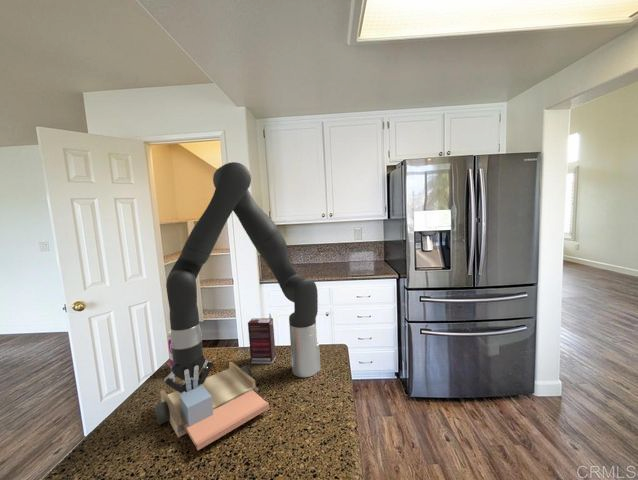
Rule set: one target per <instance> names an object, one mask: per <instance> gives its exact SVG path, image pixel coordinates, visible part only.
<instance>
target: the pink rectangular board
mask: <svg viewBox="0 0 638 480" xmlns="http://www.w3.org/2000/svg"><path fill="white" fill-rule="evenodd" d="M269 409H270V403H269V402H268V401H266V400H264V398H263V397H261V396H260V395H259V394H258V393H257V392H256V393H255V392H254V391H253V390H251V391H249V392H247V393H245V394H243V395H242V396H240V397H238V398H236V399H234V400H232V401H230V402H228V403H226V404H224V405H222V406H220V407H218V408H216V409H214V410H213V415H211V416H209V417H207V418H205V419H204V420H202V421H200V422H198V423H196V424H194V425H192V426H190V427H189V426H188V424H185V429H186V431H187V433H186V434H187V435H188V436H189V438H190V440H191V441H192V443H193V444H194V446H195V449H196V451H199V450H202V449H204V448H205V447H206V446H208V445H210V444H211V443H213V442H215V441H216V440H219V439H221V437H224V436H225V435H227V434H229V433H230V432H232V431H233V430H236V429H237V428H238V427H240V426H242V425H244V424H245V423H247V422H249V421H250V420H252V419H254V418H256V417H257V416H258V415H261V414H262V413H264V412H265V411H267V410H269Z"/></svg>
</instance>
